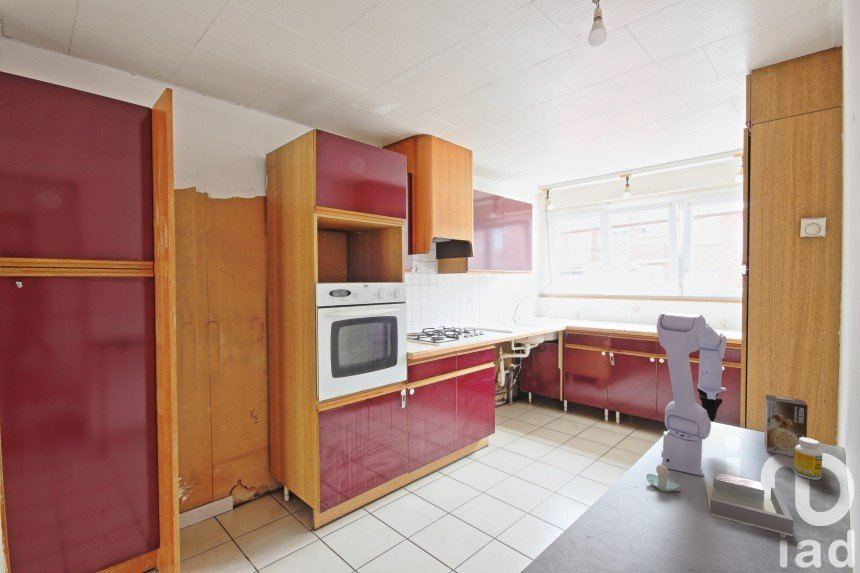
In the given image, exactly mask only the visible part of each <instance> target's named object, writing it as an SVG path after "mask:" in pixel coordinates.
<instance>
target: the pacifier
mask: <svg viewBox="0 0 860 573" xmlns="http://www.w3.org/2000/svg"><path fill="white" fill-rule="evenodd" d="M655 467H656V468H655V469H656V470H655V471H656V473H657V475H656V474H653V473H647V474H646V477H645V479H646V480H647V481H648V483H649V484H650V485H651V486H654V487H655V488H656V489H657V488H658V490H659V489H660V491H661V492H665V491H666V492H667V493H670V492H679V491H681V490H680V484H679V483H677V482H673V481H671V480H668V477H669V476H670V471H669V470H670V469H669V468H666V467H665V466H663V464H658V465H656V466H655Z"/></svg>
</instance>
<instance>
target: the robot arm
mask: <svg viewBox="0 0 860 573" xmlns="http://www.w3.org/2000/svg"><path fill="white" fill-rule="evenodd" d="M656 332H657V338H658V341H659V345H660V346H661V347H662V348H663V349H664V350H665V354H666V360H667V366H668V373H669V377H670V378H669V379H670V384H671V390H672V395H673V400H672V401H670V402H668V403H667V405H666V407H665V409H664V425H665V427H666V429H668V431H665V430H664V431H663V437H662V438H663V440H662V442H663V443H662V450H661V458H662V465H663V466H665V467H666V468H667V469H668V470H674V471H678V472H682V473H687V474H692V475H695V476H701V477H704V475H705V473H704V467H703V463H702V456H703V454H702V452H703V440H706V439H707V438H708V437H709V436H710V433H711V428H712V422H714V421H715V418H716V416H717V412H718V409H719V407H721V404H723V399H722V398H717V397H718V395H719V394H720V393H721V392H726V391H727V388H726V387H725V386H724V387H722V382H723V381H722V380H723V379H722V377H723V359H724V358H725V352H726V348H727V337H726V335H724V334H723V333H720V332H717V331H716V330H715V329H713V328H712V327H711V326H710V324H709V323H707V322H706V318H705V317H704V316H703V315H702V314H688V313H687V314H686V313H685V314H684V313H678V312H677V313H676V312H667V311H662V312H661V313H660V314H659V315H658V318H657V322H656ZM697 351H699V361H698V382H697V383H698V384H697V388H696V389H697V392H698V398H699V400H700V402H701V405H700V404H699V403H698V402H696V396H695V390H694V389H695V388H694V384H693V377H692V376H693V375H692V368H691V362H690V354H691V353H694V352H697Z"/></svg>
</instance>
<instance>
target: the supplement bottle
mask: <svg viewBox="0 0 860 573" xmlns="http://www.w3.org/2000/svg"><path fill="white" fill-rule="evenodd" d="M820 445H821V444H820V441H819V440H816V439H813V438H810V437H807V438H805V437H801V438H799V445H797V446H796V447H795V457H794V465H793V466H794V468H793V472H794V473H795V474H796V475H797V476H800V477H802V478H804V479H809V480H814V481H817V480H820V479H822V468H823V451H822V450H821V449H819V448H820V447H821V446H820Z"/></svg>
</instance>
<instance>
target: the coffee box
mask: <svg viewBox="0 0 860 573" xmlns="http://www.w3.org/2000/svg"><path fill="white" fill-rule="evenodd" d="M808 409H809V408H808V404H807V402H806V401H804V400H803V399H800V398H799V399H798V398H791V397H785V396H777V395H773V394H772V395H771V394H765V410H764V413H765V414H764V434H763V435H764V439H763V440H764V441H763V445H764V447H765V448H764V449H765V452H767V453H772V454H778V455H781V456H787V457H792V458H795V447H796V446H797V445H799V438H801V437H805V438H808V437H807V436H808V411H809V410H808Z"/></svg>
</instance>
